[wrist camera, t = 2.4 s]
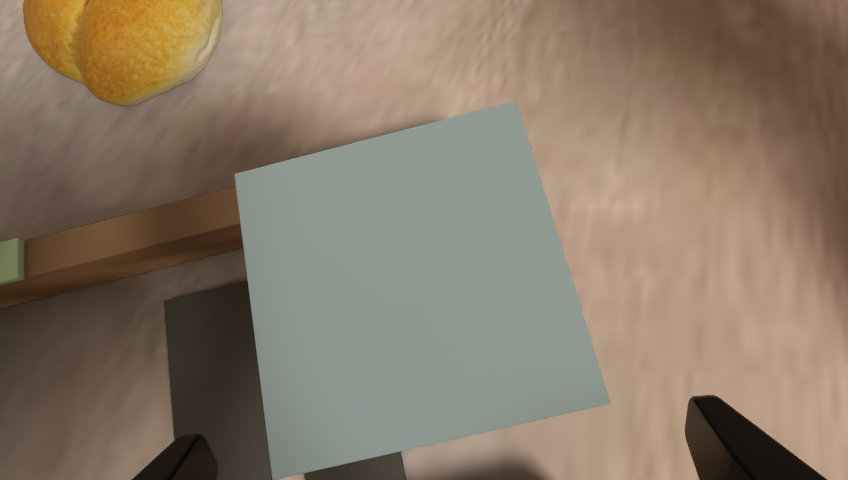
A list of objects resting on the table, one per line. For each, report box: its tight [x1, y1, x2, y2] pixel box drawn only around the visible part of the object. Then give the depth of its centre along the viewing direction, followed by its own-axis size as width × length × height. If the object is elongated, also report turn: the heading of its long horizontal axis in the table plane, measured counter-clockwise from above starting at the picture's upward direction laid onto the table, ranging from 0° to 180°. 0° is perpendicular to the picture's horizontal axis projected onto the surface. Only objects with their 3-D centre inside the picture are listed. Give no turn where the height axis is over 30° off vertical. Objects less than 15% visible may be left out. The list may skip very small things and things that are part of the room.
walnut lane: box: [0, 186, 406, 480], centre depth 19 cm, size 23×15×3 cm, turn 103°
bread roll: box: [23, 0, 223, 106], centre depth 24 cm, size 8×9×4 cm
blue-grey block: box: [234, 101, 610, 480], centre depth 14 cm, size 4×4×13 cm
